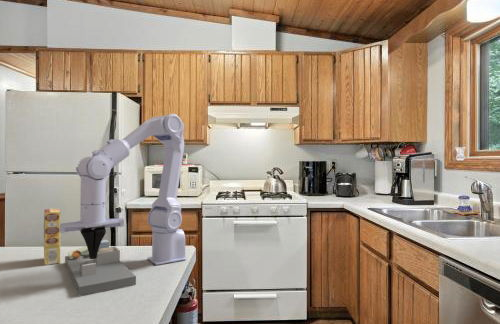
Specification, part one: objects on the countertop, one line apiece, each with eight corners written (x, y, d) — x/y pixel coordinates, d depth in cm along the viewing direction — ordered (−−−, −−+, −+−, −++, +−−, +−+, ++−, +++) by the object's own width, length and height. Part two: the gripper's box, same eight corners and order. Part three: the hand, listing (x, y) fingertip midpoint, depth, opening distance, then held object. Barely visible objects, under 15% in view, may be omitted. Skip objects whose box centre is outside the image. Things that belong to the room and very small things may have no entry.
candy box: (60, 263, 94) (61, 211, 94) (43, 265, 91) (44, 212, 92) (59, 256, 101) (59, 208, 101) (43, 258, 99) (43, 209, 99)
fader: (106, 251, 99) (106, 239, 99) (109, 253, 96) (109, 241, 96) (96, 252, 97) (96, 240, 97) (98, 255, 94) (98, 243, 94)
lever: (91, 265, 81) (77, 247, 79) (93, 268, 79) (78, 249, 77) (83, 270, 80) (69, 253, 78) (85, 273, 78) (70, 255, 76)
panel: (108, 256, 101) (108, 240, 101) (135, 284, 76) (136, 263, 77) (64, 263, 94) (65, 246, 94) (79, 296, 70) (79, 273, 70)
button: (112, 256, 92) (112, 246, 92) (115, 259, 89) (115, 249, 89) (97, 258, 90) (97, 248, 90) (100, 262, 87) (100, 251, 87)
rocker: (90, 247, 97) (89, 244, 97) (92, 250, 93) (91, 247, 93) (68, 256, 93) (67, 252, 93) (70, 259, 90) (69, 256, 90)
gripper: (119, 200, 88) (119, 250, 88) (58, 204, 80) (57, 259, 79) (126, 203, 82) (126, 256, 82) (61, 207, 74) (60, 266, 74)
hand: (92, 258), depth 80 cm, fingers closed
